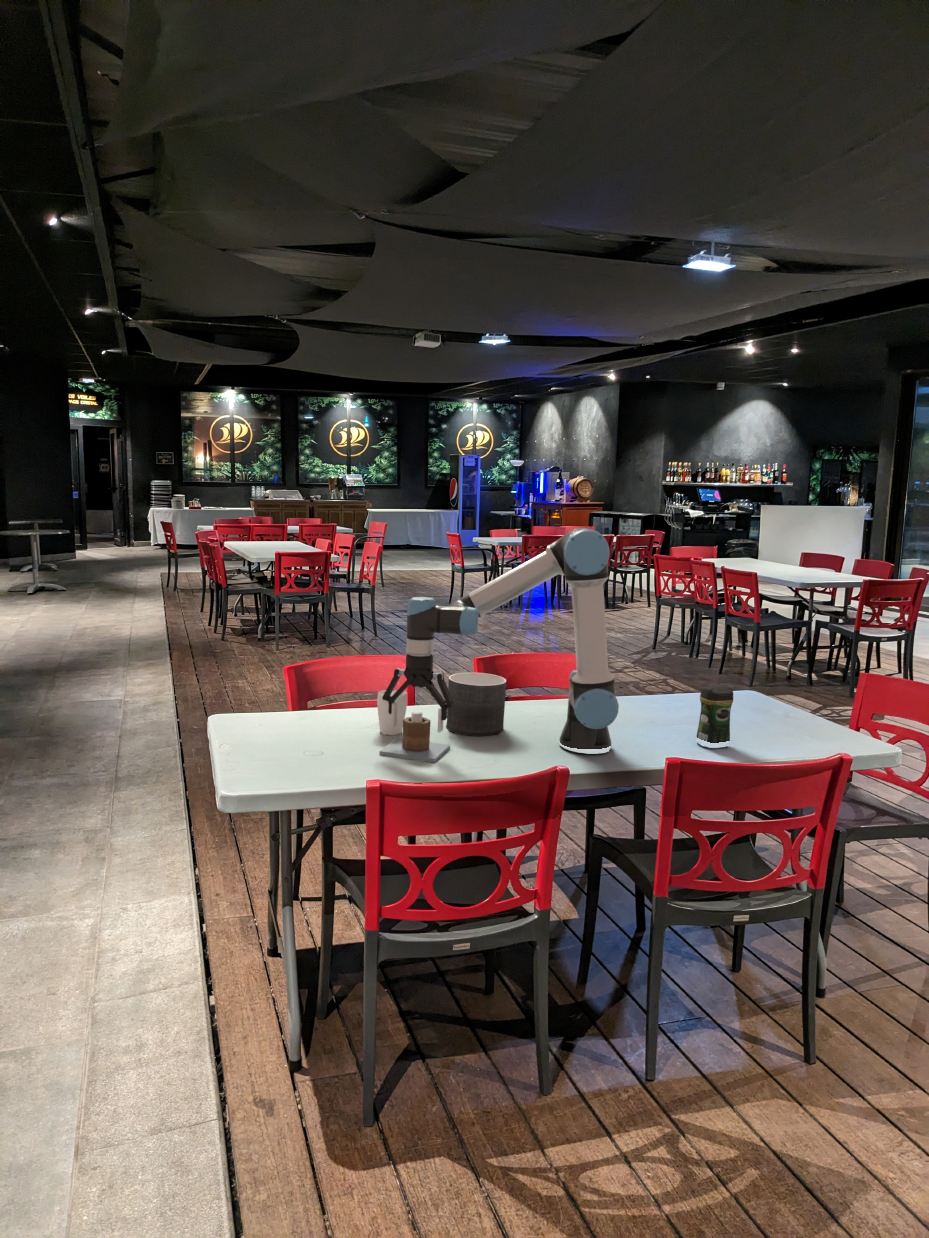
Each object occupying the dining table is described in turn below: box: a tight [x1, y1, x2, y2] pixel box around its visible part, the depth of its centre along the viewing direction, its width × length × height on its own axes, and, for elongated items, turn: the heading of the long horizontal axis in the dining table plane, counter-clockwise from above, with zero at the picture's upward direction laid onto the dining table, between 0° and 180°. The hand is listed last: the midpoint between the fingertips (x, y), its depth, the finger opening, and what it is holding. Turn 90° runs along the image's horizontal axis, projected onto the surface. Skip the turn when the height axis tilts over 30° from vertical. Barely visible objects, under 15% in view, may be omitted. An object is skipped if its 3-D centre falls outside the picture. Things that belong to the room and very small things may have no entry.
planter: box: [446, 672, 507, 737], centre depth 264 cm, size 18×18×16 cm
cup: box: [376, 689, 408, 736], centre depth 255 cm, size 9×9×12 cm
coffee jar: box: [696, 685, 734, 743], centre depth 258 cm, size 10×8×19 cm
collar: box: [402, 716, 431, 752], centre depth 238 cm, size 7×7×8 cm
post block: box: [379, 711, 451, 764], centre depth 238 cm, size 16×14×11 cm
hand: (417, 728), depth 238 cm, fingers open, 13 cm apart
